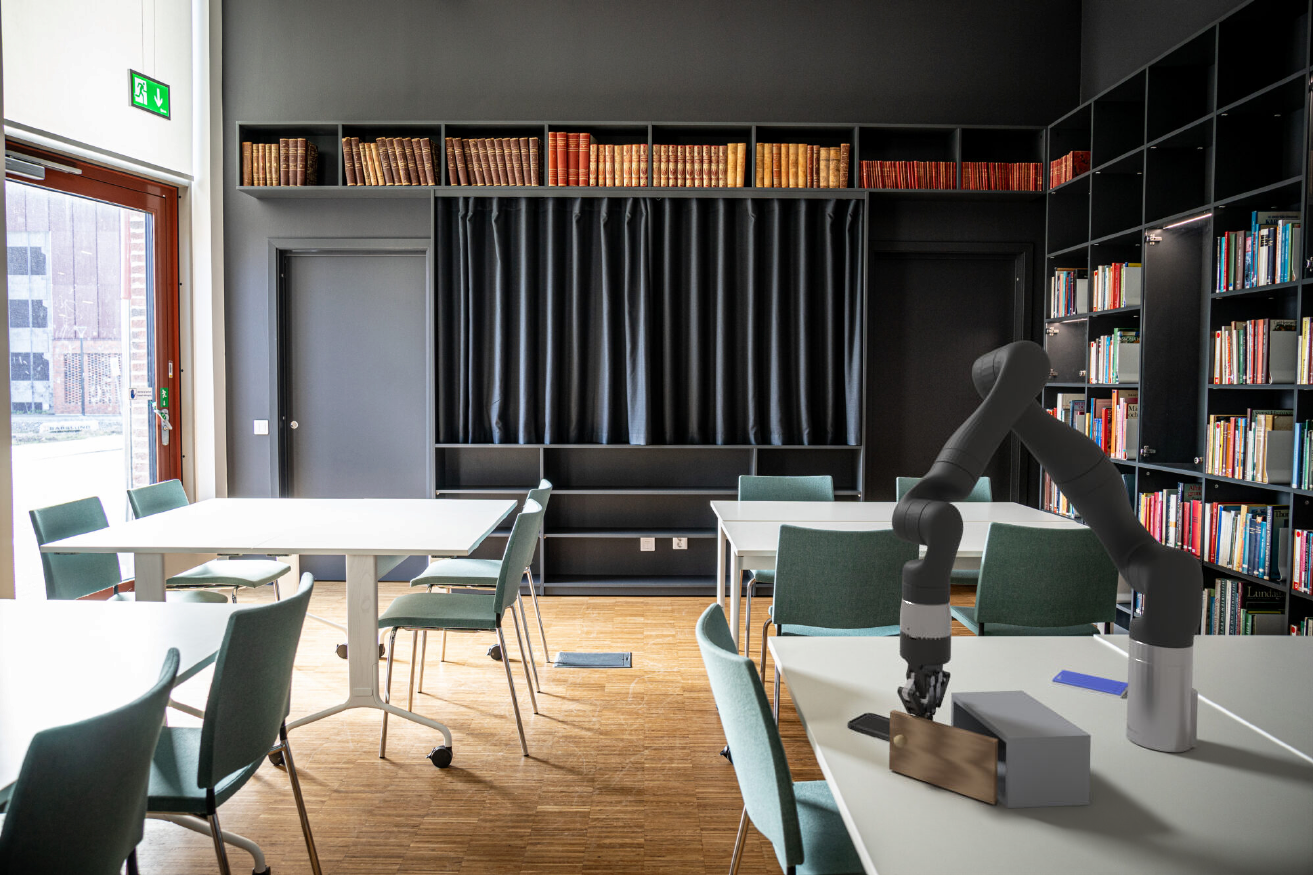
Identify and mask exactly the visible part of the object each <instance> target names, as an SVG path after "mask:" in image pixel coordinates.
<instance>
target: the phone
mask: <svg viewBox="0 0 1313 875" xmlns="http://www.w3.org/2000/svg"><path fill="white" fill-rule="evenodd" d="M847 729H848V730H851V731H854V732H857V733H860V734H863V735H866V736H870V737H872V738H875V739H877V740H878V739H879V740H882V741H884V742H888V743H890V717H887V716H883V715H880V714H877V713H874V712H864V713H863V714H861V715H859V716H857V717H855V718H853V719H851V720H849V721H847Z"/></svg>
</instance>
